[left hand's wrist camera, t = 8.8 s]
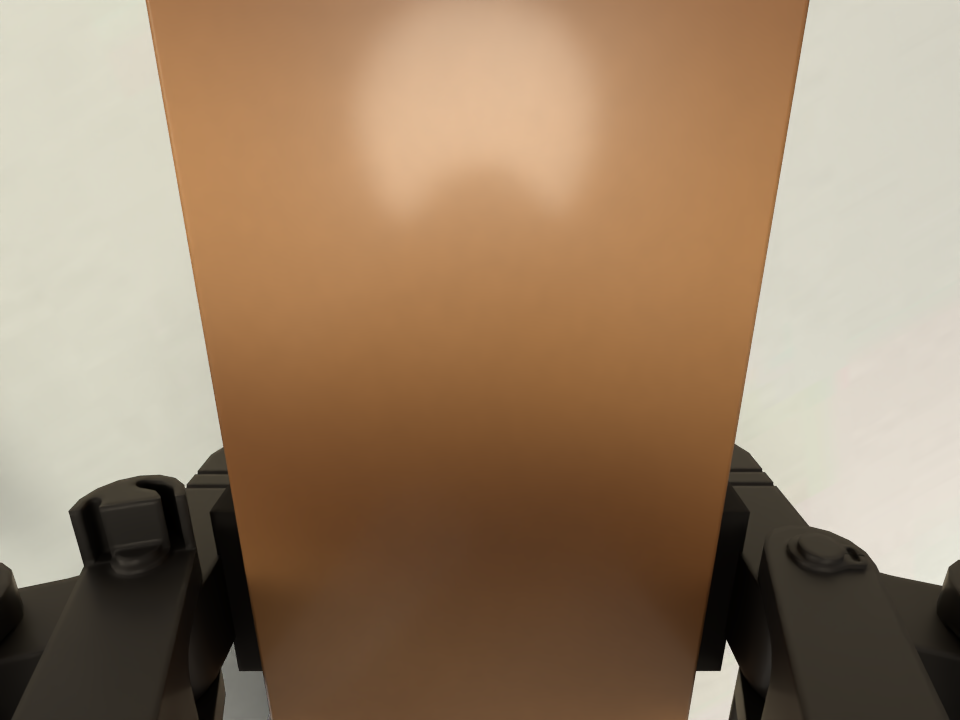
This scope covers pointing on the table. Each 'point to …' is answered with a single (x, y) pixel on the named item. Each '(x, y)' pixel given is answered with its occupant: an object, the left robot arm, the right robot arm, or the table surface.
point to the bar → (478, 332)
